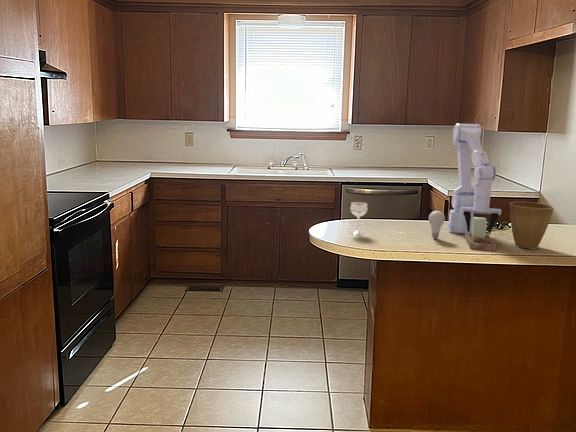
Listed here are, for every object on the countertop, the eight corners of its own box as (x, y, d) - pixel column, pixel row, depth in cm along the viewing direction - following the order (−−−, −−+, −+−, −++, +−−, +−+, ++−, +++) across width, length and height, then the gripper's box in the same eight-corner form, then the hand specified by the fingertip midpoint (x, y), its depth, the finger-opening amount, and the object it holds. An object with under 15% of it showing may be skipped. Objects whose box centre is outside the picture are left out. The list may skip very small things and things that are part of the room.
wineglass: (358, 235, 216) (359, 205, 213) (345, 232, 221) (346, 202, 218) (369, 233, 220) (371, 203, 218) (356, 230, 225) (358, 201, 223)
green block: (472, 242, 211) (474, 219, 209) (471, 239, 215) (473, 216, 213) (484, 243, 210) (486, 220, 208) (482, 240, 215) (485, 217, 213)
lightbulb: (432, 235, 219) (434, 208, 217) (446, 238, 215) (448, 211, 213) (423, 238, 215) (426, 210, 213) (437, 241, 211) (440, 213, 208)
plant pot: (553, 253, 198) (559, 209, 195) (510, 250, 201) (515, 207, 197) (541, 243, 213) (546, 202, 210) (501, 240, 215) (505, 200, 212)
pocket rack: (470, 248, 201) (470, 243, 201) (464, 237, 218) (465, 232, 217) (495, 250, 200) (495, 245, 199) (487, 239, 216) (488, 234, 216)
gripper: (463, 197, 207) (460, 232, 209) (504, 199, 204) (500, 235, 207) (461, 194, 213) (458, 228, 216) (500, 196, 211) (497, 231, 214)
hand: (478, 231), depth 212 cm, fingers open, 7 cm apart
